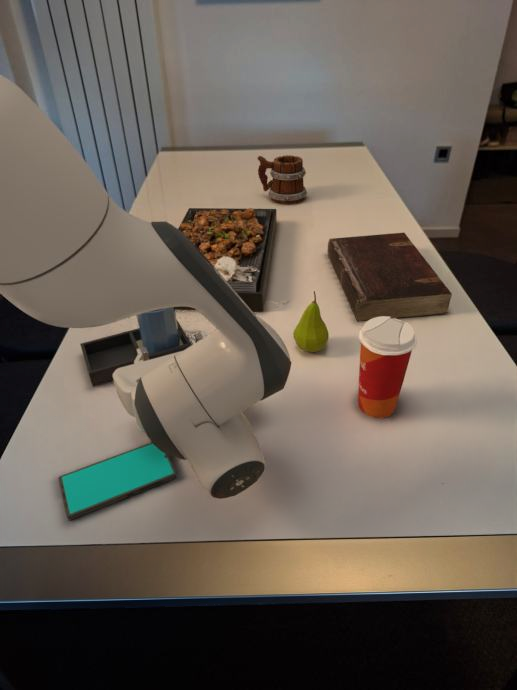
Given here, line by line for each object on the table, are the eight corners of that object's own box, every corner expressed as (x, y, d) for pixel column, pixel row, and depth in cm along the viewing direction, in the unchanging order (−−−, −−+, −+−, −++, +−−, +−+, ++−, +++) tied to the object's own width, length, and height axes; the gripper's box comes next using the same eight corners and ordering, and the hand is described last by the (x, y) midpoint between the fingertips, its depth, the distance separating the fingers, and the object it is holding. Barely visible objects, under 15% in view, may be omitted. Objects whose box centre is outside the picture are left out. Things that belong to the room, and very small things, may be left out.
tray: (92, 387, 86) (88, 373, 84) (84, 356, 93) (80, 343, 91) (193, 357, 92) (191, 344, 90) (178, 331, 99) (176, 318, 97)
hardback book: (327, 256, 123) (328, 237, 120) (401, 251, 124) (404, 232, 121) (355, 321, 100) (358, 300, 97) (446, 314, 101) (451, 293, 98)
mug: (310, 204, 149) (302, 154, 140) (263, 212, 151) (253, 163, 143) (309, 190, 158) (302, 142, 150) (265, 198, 161) (256, 151, 152)
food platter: (262, 311, 103) (261, 267, 97) (148, 308, 105) (139, 265, 99) (276, 223, 139) (276, 187, 133) (190, 222, 141) (186, 187, 135)
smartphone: (57, 476, 69) (160, 439, 74) (59, 480, 70) (161, 442, 75) (66, 517, 64) (176, 474, 69) (68, 521, 65) (177, 478, 70)
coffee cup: (364, 381, 85) (374, 308, 76) (410, 400, 81) (426, 325, 72) (341, 410, 80) (349, 335, 71) (389, 431, 76) (404, 354, 67)
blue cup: (149, 362, 90) (139, 316, 84) (139, 342, 95) (130, 297, 89) (184, 351, 92) (178, 306, 86) (173, 332, 97) (166, 288, 91)
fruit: (300, 361, 90) (301, 305, 83) (289, 342, 95) (290, 287, 88) (333, 354, 91) (337, 299, 84) (320, 336, 96) (324, 282, 89)
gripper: (265, 360, 70) (230, 311, 80) (120, 402, 64) (102, 343, 74) (265, 393, 74) (232, 342, 84) (129, 435, 68) (111, 375, 78)
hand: (170, 343), depth 79 cm, fingers open, 8 cm apart
